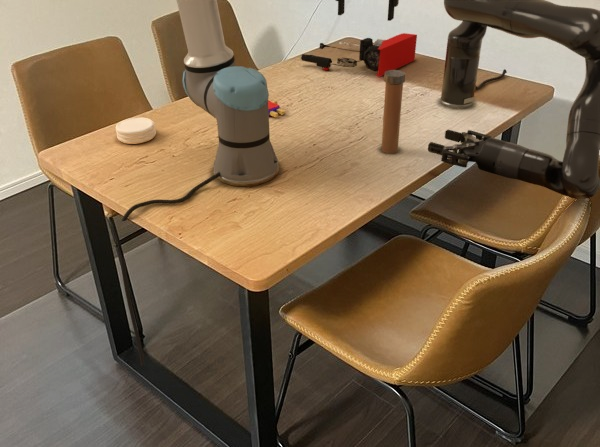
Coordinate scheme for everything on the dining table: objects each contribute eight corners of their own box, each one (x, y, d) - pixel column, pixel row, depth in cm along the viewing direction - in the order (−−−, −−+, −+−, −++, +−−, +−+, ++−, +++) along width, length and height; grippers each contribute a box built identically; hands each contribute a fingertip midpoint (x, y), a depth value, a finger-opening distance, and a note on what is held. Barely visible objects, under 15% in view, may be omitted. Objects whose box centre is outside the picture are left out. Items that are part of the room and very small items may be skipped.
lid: (380, 80, 145) (380, 73, 144) (393, 75, 148) (393, 68, 147) (395, 85, 142) (396, 78, 141) (408, 80, 145) (409, 73, 144)
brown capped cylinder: (378, 149, 155) (382, 75, 144) (388, 144, 157) (393, 70, 147) (390, 154, 152) (396, 79, 142) (401, 149, 154) (407, 75, 144)
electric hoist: (300, 34, 205) (379, 49, 190) (342, 21, 224) (417, 33, 209) (299, 65, 210) (376, 81, 195) (341, 49, 229) (414, 63, 214)
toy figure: (289, 106, 174) (261, 93, 181) (270, 113, 170) (242, 99, 177) (289, 115, 175) (261, 101, 182) (270, 121, 171) (243, 107, 178)
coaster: (128, 148, 157) (126, 135, 155) (110, 136, 163) (108, 123, 162) (163, 136, 162) (161, 124, 161) (144, 125, 169) (142, 113, 167)
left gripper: (424, -73, 148) (416, 18, 159) (328, -78, 157) (326, 8, 168) (416, -69, 142) (407, 25, 153) (316, -75, 151) (315, 15, 162)
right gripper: (519, 132, 140) (452, 115, 148) (493, 155, 130) (424, 135, 138) (513, 162, 144) (448, 143, 152) (488, 186, 134) (421, 165, 142)
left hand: (365, 16), depth 161 cm, fingers open, 13 cm apart
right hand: (437, 140), depth 145 cm, fingers open, 8 cm apart
